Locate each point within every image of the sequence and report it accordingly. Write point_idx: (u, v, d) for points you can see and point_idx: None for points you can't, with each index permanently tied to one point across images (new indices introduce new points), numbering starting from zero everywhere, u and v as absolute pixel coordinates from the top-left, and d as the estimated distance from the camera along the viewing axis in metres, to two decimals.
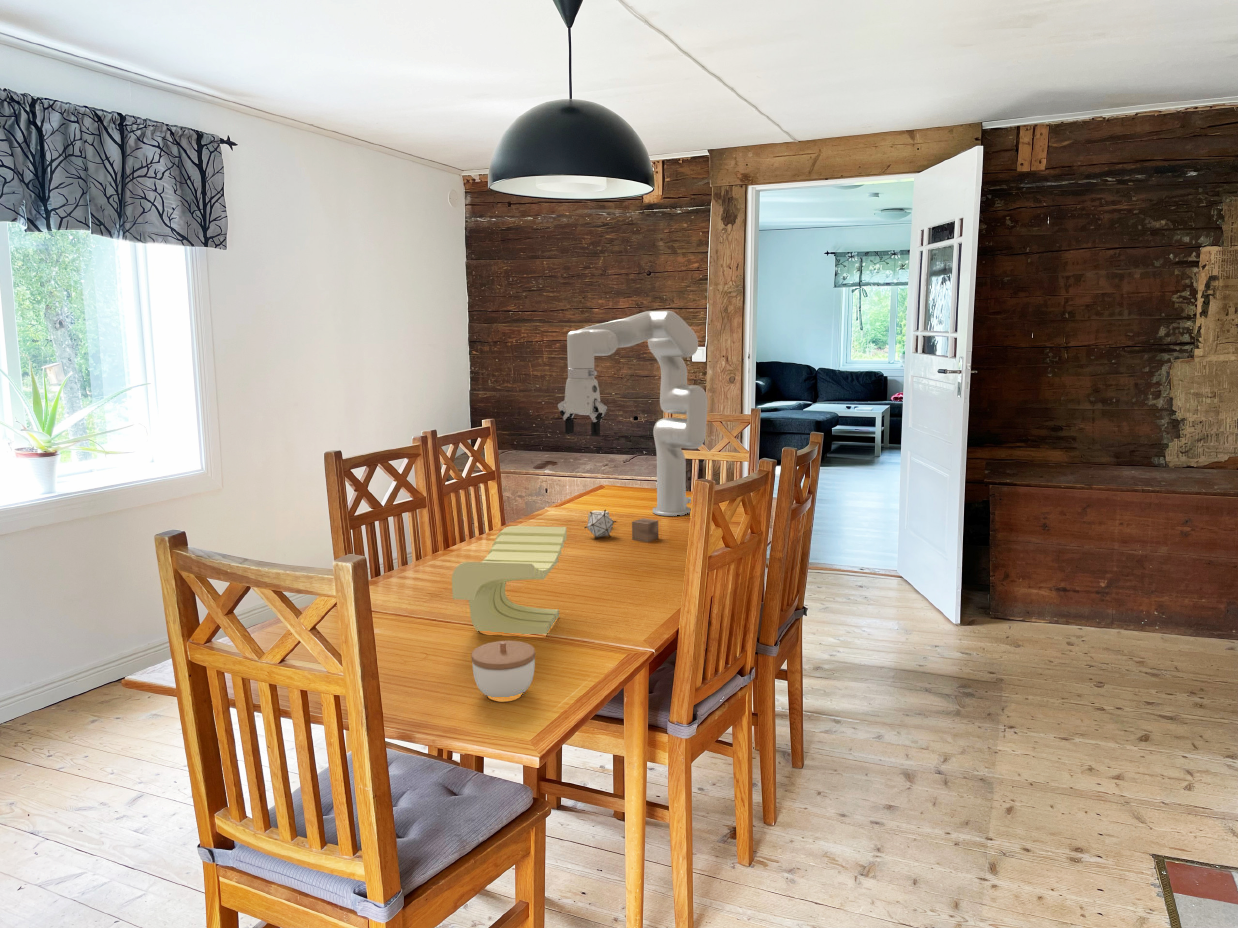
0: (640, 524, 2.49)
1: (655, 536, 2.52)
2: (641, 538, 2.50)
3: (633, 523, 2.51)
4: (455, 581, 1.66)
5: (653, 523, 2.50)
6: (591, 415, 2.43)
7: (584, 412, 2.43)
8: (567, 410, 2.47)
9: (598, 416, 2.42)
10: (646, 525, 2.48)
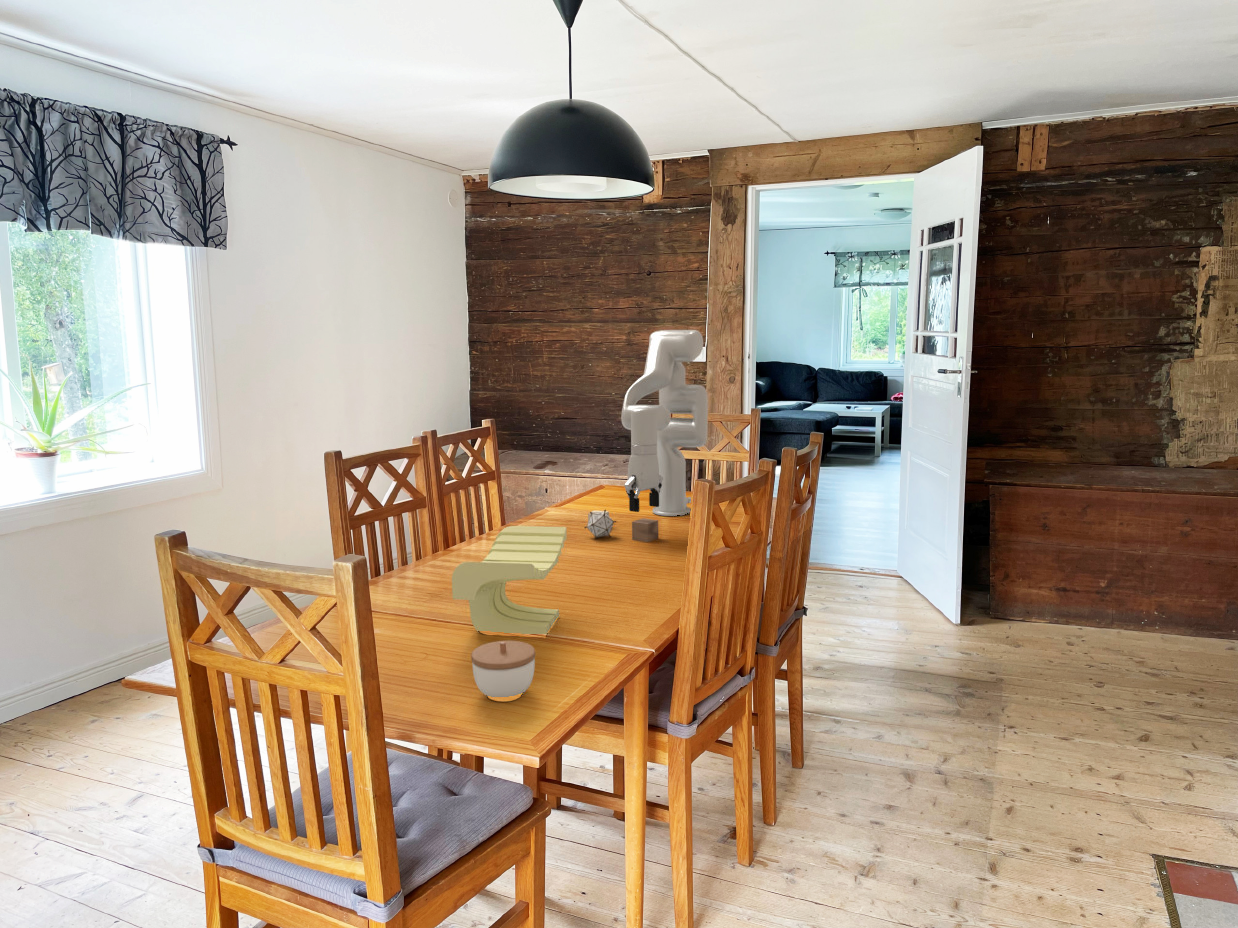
0: (640, 524, 2.49)
1: (655, 536, 2.52)
2: (641, 538, 2.50)
3: (633, 523, 2.51)
4: (455, 581, 1.66)
5: (653, 523, 2.50)
6: (657, 487, 2.52)
7: (655, 485, 2.50)
8: (642, 487, 2.45)
9: (659, 487, 2.54)
10: (646, 525, 2.48)
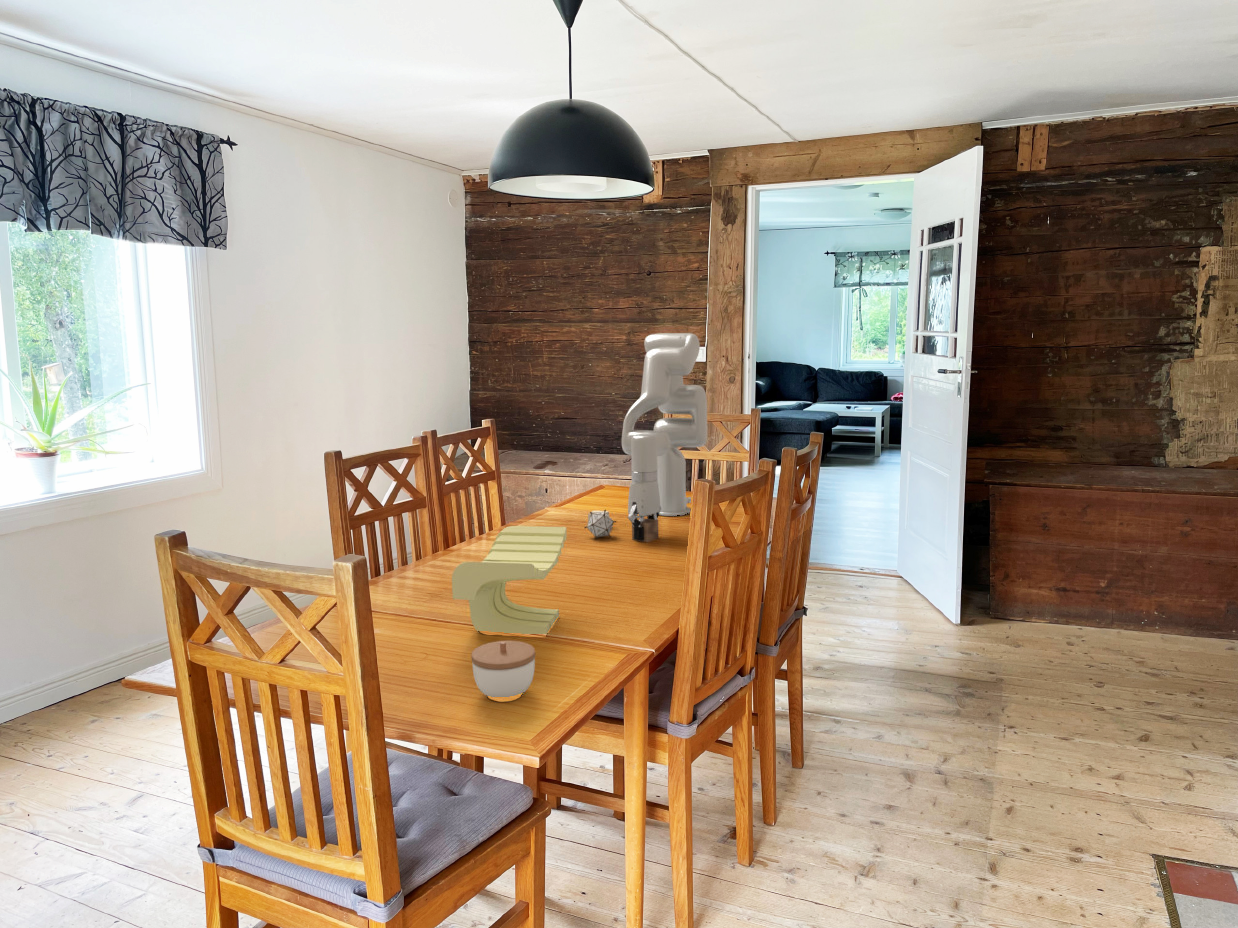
0: None
1: (655, 536, 2.52)
2: None
3: None
4: (455, 581, 1.66)
5: (653, 523, 2.50)
6: (655, 515, 2.53)
7: (655, 511, 2.52)
8: (643, 514, 2.47)
9: (657, 516, 2.55)
10: (646, 525, 2.48)
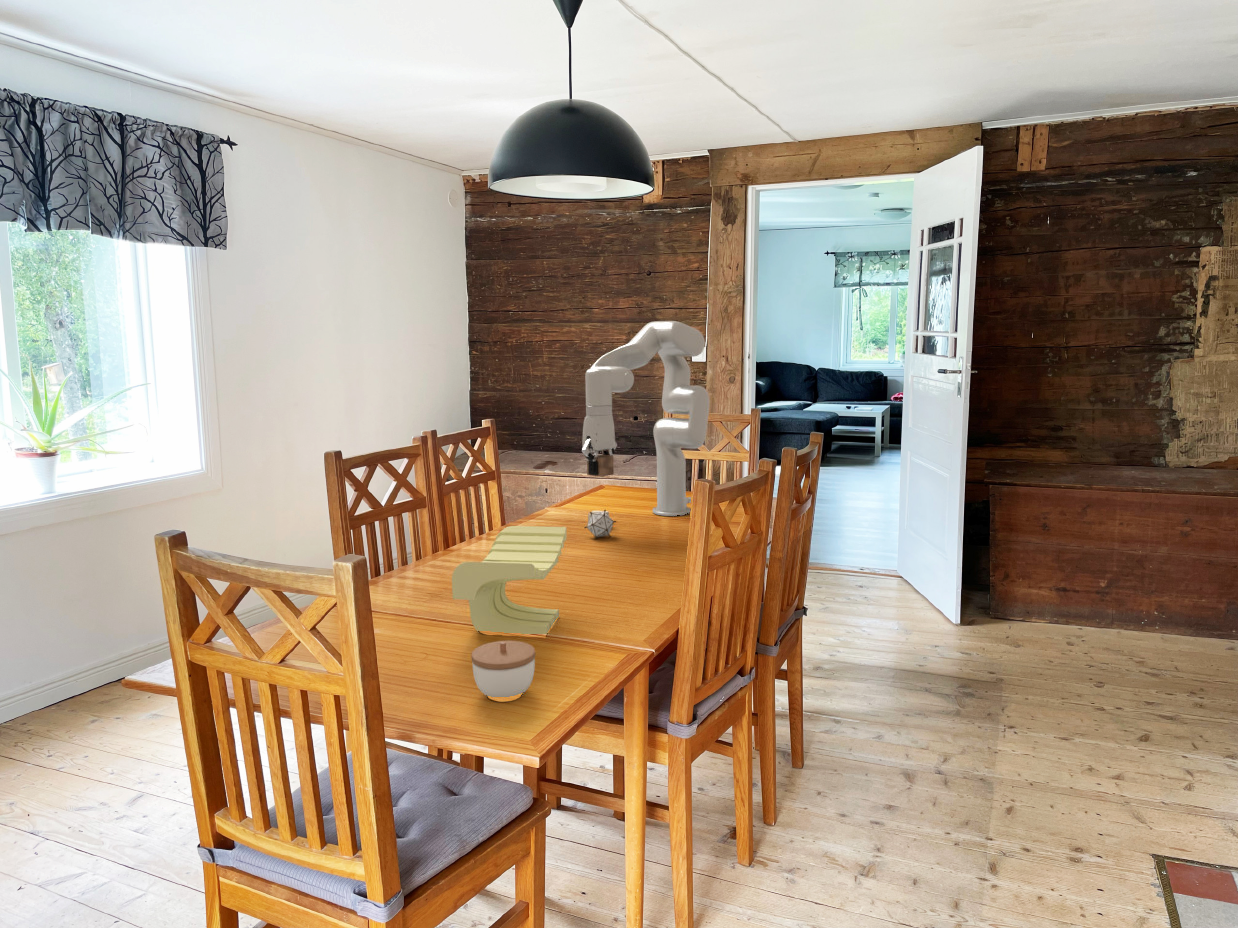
0: None
1: (610, 471, 2.51)
2: None
3: None
4: (455, 581, 1.66)
5: (608, 458, 2.50)
6: (610, 451, 2.53)
7: (610, 446, 2.52)
8: (597, 448, 2.47)
9: (612, 452, 2.54)
10: (600, 459, 2.48)
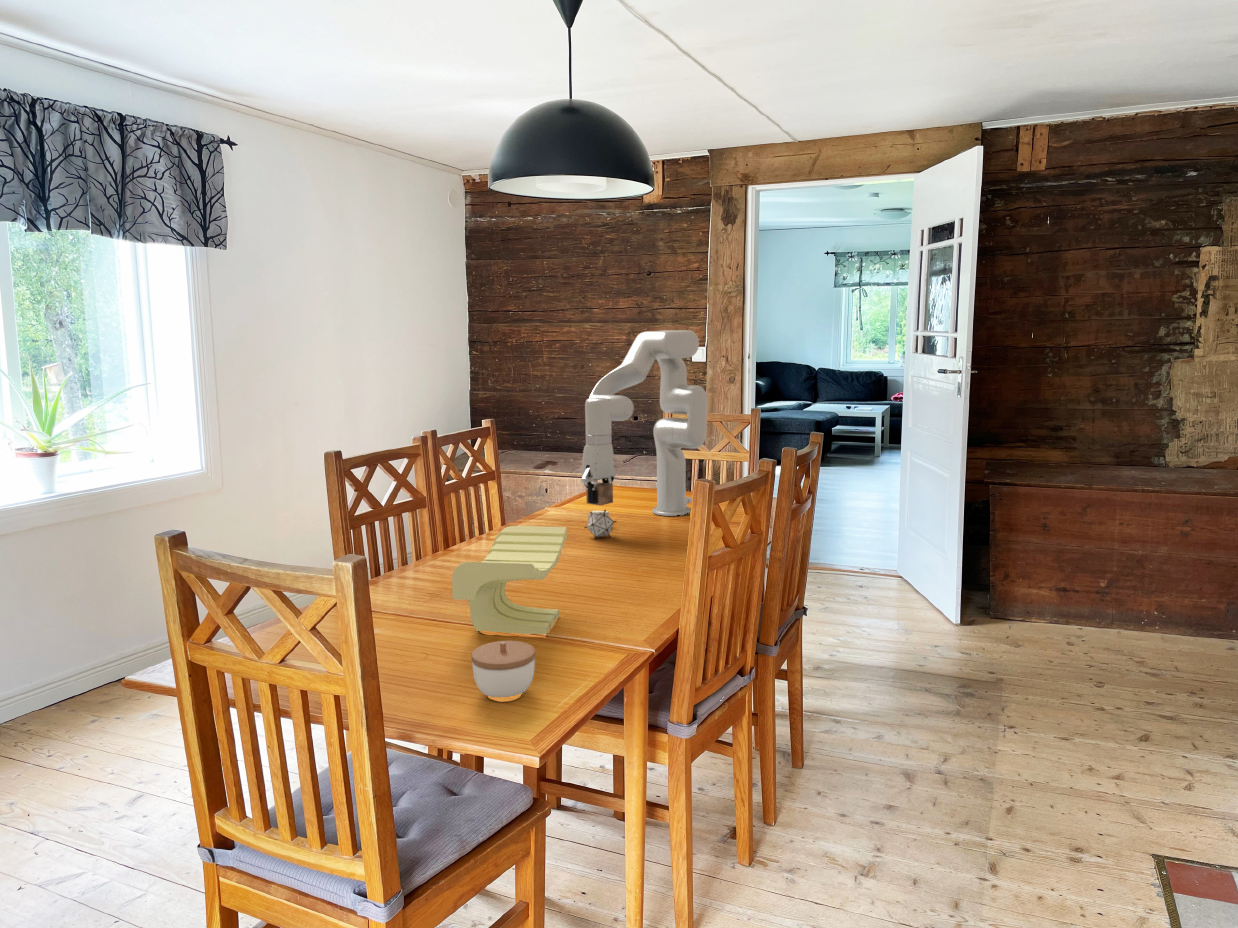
0: None
1: (609, 500, 2.53)
2: None
3: None
4: (455, 581, 1.66)
5: (607, 486, 2.51)
6: (609, 479, 2.54)
7: (610, 475, 2.53)
8: (596, 477, 2.48)
9: (611, 480, 2.56)
10: (600, 488, 2.49)
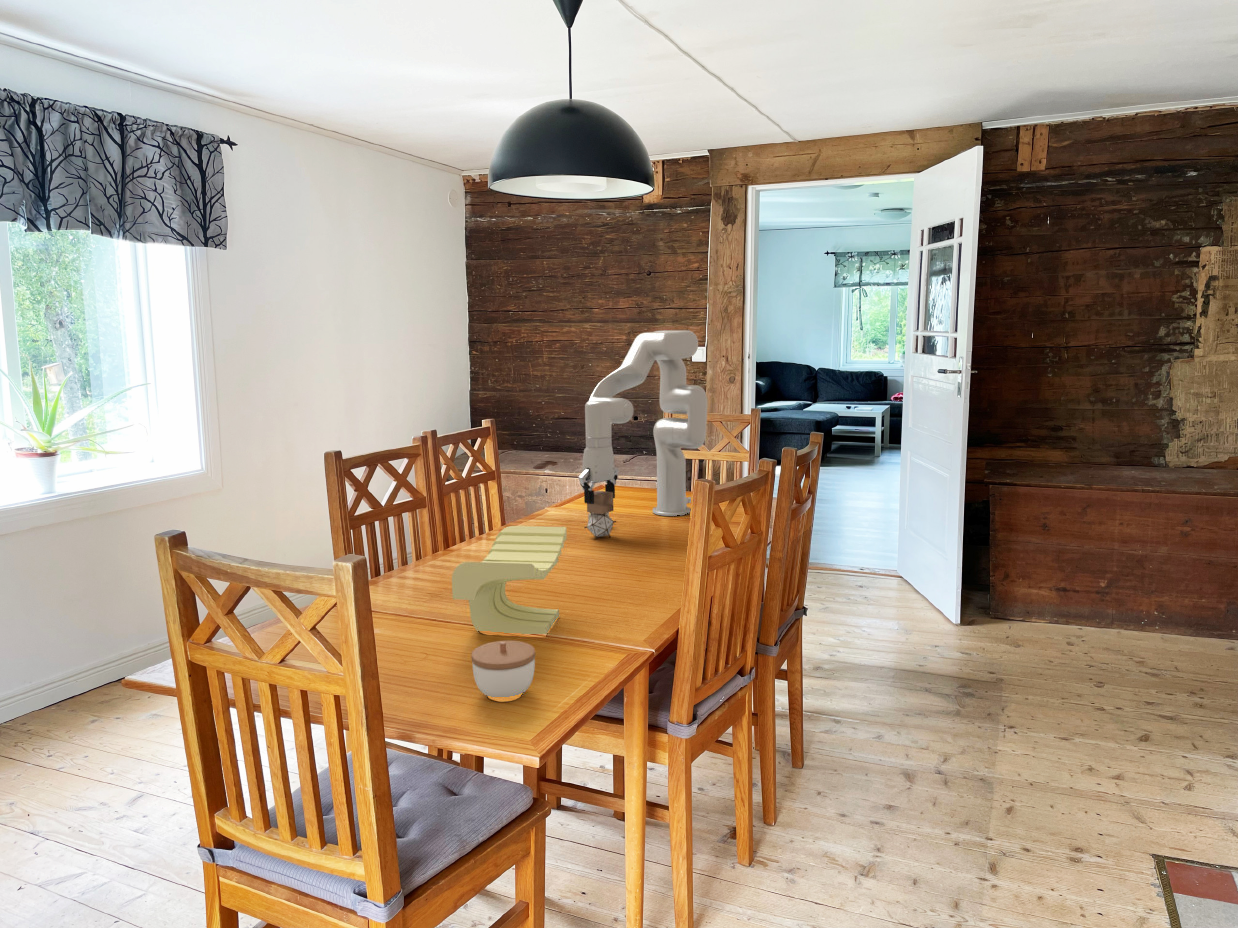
0: (595, 496, 2.51)
1: (610, 508, 2.53)
2: (596, 510, 2.51)
3: None
4: (455, 581, 1.66)
5: (608, 495, 2.52)
6: (612, 479, 2.55)
7: (610, 477, 2.53)
8: (596, 480, 2.48)
9: (615, 478, 2.57)
10: (600, 497, 2.50)
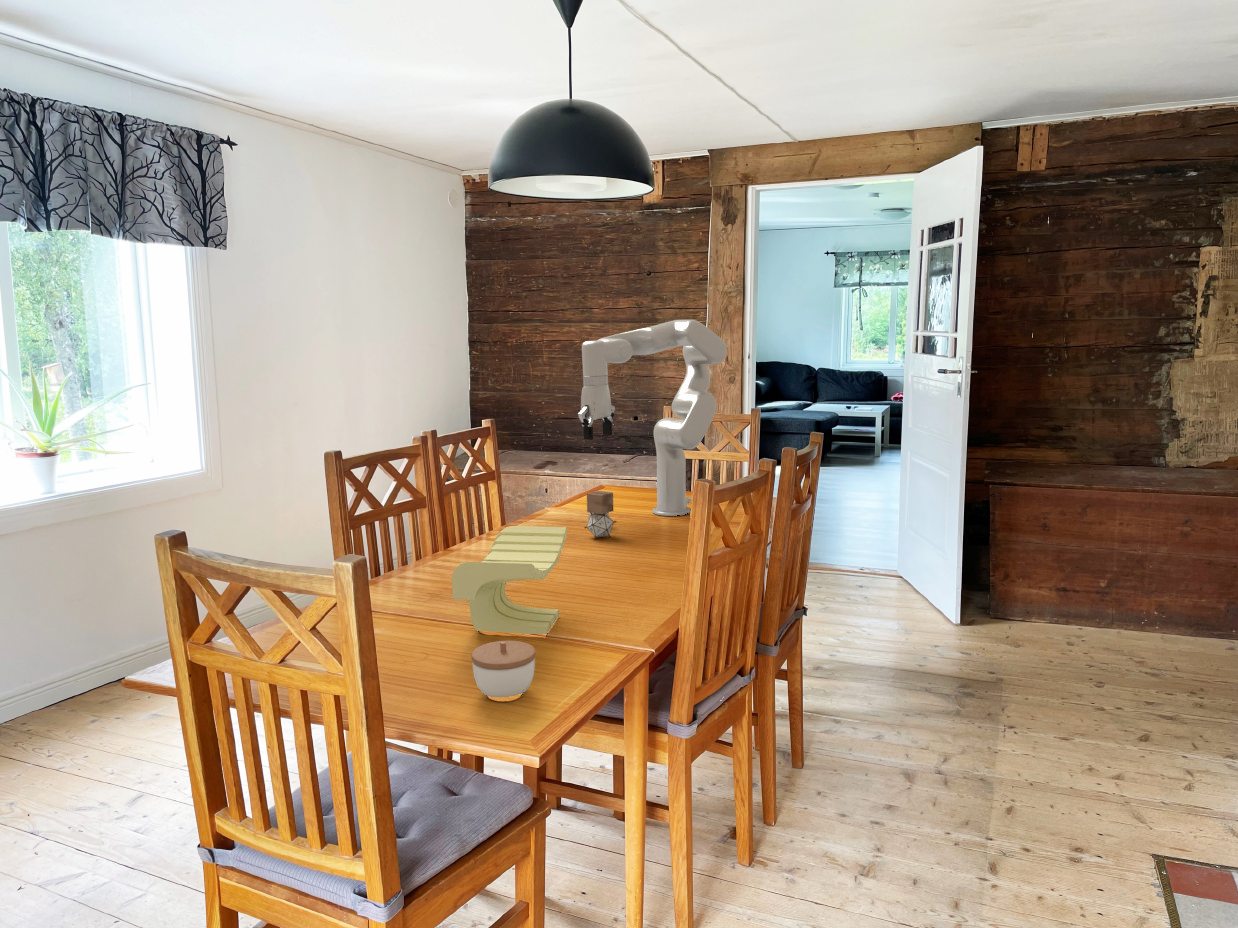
0: (595, 496, 2.51)
1: (610, 508, 2.53)
2: (596, 510, 2.51)
3: (588, 495, 2.52)
4: (455, 581, 1.66)
5: (608, 495, 2.52)
6: (609, 416, 2.67)
7: (607, 415, 2.65)
8: (595, 416, 2.60)
9: (612, 416, 2.69)
10: (600, 497, 2.50)
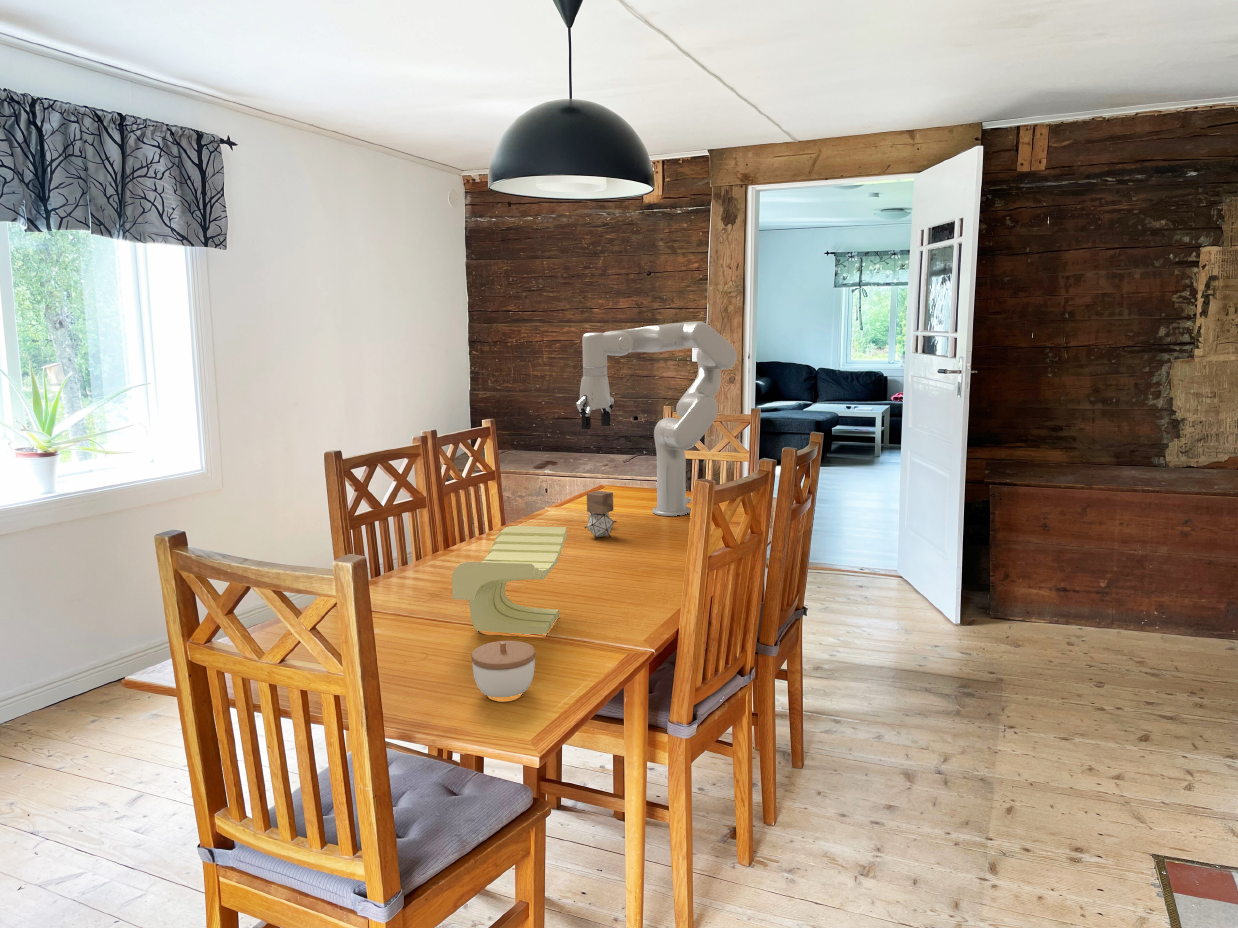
0: (595, 496, 2.51)
1: (610, 508, 2.53)
2: (596, 509, 2.51)
3: (588, 495, 2.52)
4: (455, 581, 1.66)
5: (607, 495, 2.52)
6: (608, 407, 2.73)
7: (606, 405, 2.71)
8: (593, 406, 2.66)
9: (611, 407, 2.75)
10: (600, 496, 2.50)
